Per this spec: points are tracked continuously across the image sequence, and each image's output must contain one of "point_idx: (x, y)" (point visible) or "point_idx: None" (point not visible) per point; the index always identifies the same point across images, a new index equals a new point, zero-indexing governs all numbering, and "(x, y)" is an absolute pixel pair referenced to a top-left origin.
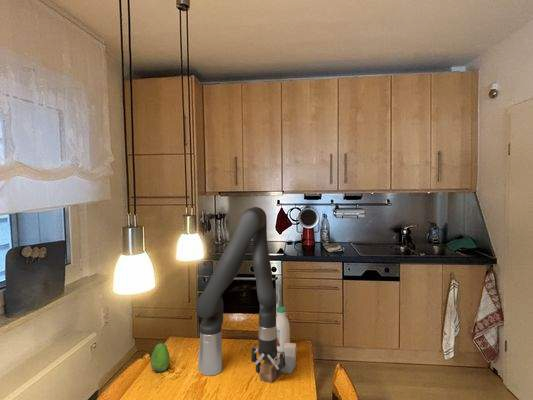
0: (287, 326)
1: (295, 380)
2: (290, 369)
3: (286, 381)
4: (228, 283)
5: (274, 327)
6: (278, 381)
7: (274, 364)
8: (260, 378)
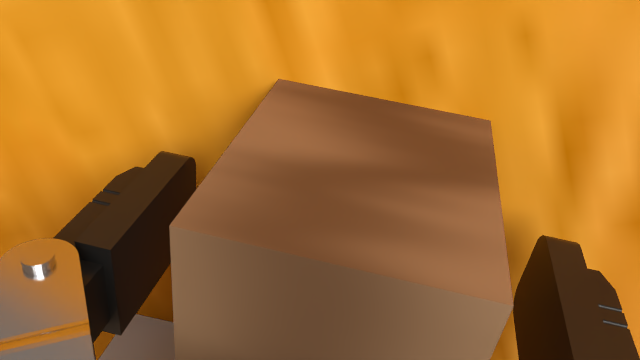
0: None
1: (17, 203)
2: (103, 357)
3: (100, 166)
4: None
5: None
6: (197, 148)
7: (57, 331)
8: (483, 136)
